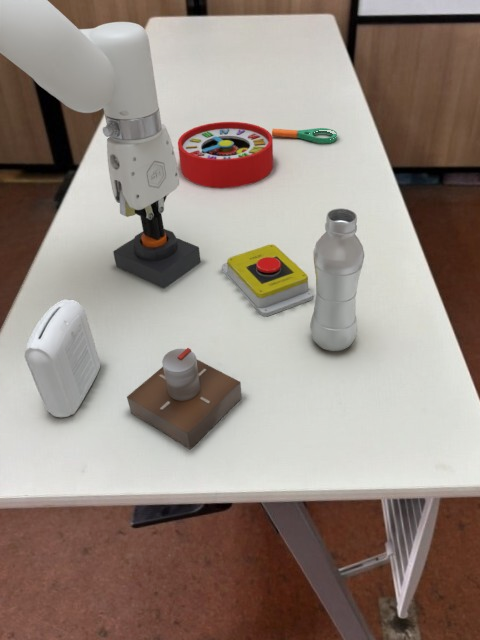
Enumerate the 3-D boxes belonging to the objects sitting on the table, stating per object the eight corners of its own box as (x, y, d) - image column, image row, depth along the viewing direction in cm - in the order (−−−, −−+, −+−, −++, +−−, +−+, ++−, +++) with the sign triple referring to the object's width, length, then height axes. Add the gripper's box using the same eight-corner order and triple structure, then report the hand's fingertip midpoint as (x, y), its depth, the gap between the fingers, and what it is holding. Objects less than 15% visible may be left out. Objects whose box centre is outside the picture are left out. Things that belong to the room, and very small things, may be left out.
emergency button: (263, 294, 83) (217, 246, 92) (263, 318, 85) (219, 268, 95) (316, 275, 86) (267, 230, 96) (315, 298, 89) (267, 252, 99)
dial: (186, 405, 69) (181, 374, 65) (161, 392, 70) (154, 361, 67) (206, 385, 71) (202, 354, 68) (181, 373, 73) (176, 342, 69)
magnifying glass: (337, 133, 136) (337, 126, 134) (336, 144, 131) (336, 137, 130) (274, 131, 137) (274, 124, 136) (270, 141, 133) (270, 134, 132)
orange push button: (138, 248, 94) (136, 237, 92) (155, 237, 96) (153, 227, 95) (155, 256, 92) (153, 245, 91) (172, 244, 94) (171, 234, 93)
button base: (116, 267, 96) (110, 241, 93) (153, 243, 102) (149, 218, 98) (164, 289, 91) (159, 263, 88) (200, 262, 97) (197, 237, 93)
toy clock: (292, 142, 118) (210, 169, 110) (291, 169, 122) (212, 197, 114) (237, 114, 131) (160, 137, 122) (239, 139, 135) (164, 163, 126)
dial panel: (130, 412, 72) (126, 395, 70) (183, 367, 78) (181, 350, 76) (190, 449, 68) (187, 432, 66) (241, 398, 74) (240, 380, 71)
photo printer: (76, 360, 79) (52, 289, 71) (105, 363, 79) (84, 292, 71) (42, 416, 72) (11, 344, 64) (74, 420, 71) (47, 348, 63)
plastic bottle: (323, 362, 78) (332, 235, 65) (301, 333, 83) (304, 209, 69) (364, 349, 80) (380, 223, 67) (340, 321, 85) (351, 197, 71)
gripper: (113, 148, 74) (138, 265, 87) (189, 111, 83) (202, 222, 96) (75, 135, 78) (104, 249, 90) (152, 101, 87) (169, 210, 99)
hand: (154, 235), depth 93 cm, fingers closed
